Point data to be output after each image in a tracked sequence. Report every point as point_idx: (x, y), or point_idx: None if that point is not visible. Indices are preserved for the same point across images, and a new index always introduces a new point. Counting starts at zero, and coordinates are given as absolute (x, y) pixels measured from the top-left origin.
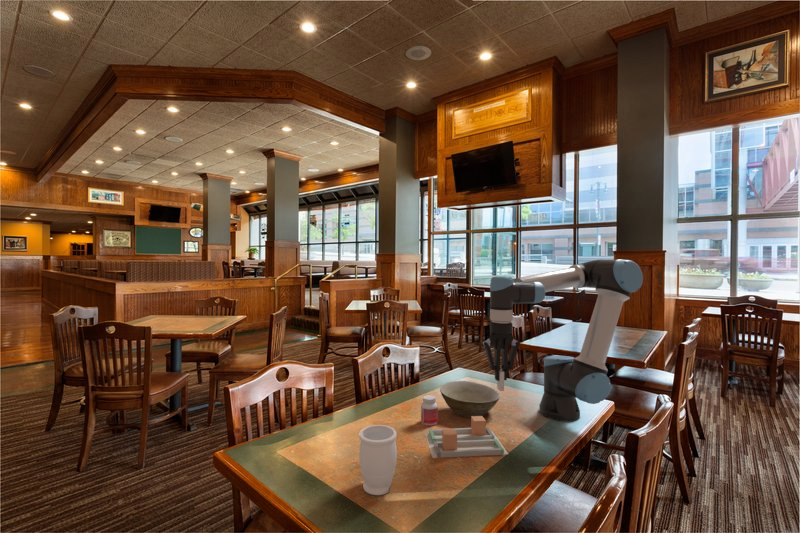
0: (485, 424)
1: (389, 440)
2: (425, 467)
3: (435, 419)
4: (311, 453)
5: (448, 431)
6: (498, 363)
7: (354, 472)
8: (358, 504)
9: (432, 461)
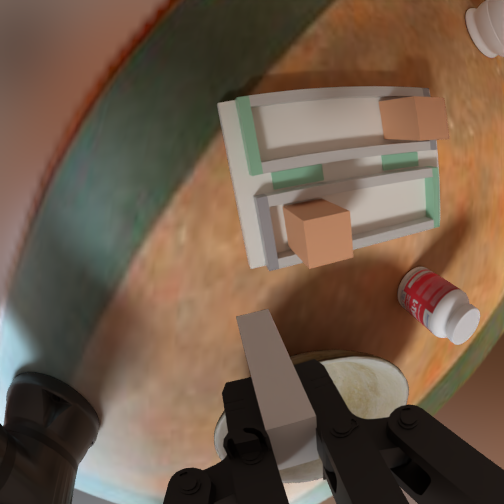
0: (299, 217)
1: None
2: (432, 73)
3: (420, 285)
4: None
5: (435, 120)
6: (372, 489)
7: None
8: None
9: None
